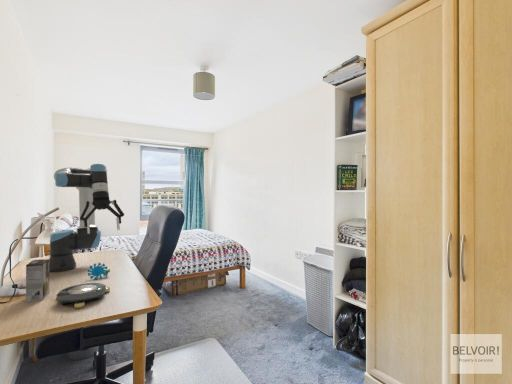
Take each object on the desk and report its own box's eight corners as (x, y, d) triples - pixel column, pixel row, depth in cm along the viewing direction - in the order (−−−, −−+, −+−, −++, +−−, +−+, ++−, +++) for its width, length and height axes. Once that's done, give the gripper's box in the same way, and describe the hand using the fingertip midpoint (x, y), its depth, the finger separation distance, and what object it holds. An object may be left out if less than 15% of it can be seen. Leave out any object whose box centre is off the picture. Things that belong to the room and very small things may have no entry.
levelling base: (74, 289, 130) (74, 280, 130) (115, 290, 129) (116, 281, 129) (37, 307, 109) (37, 296, 109) (85, 309, 108) (86, 298, 108)
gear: (84, 278, 143) (89, 261, 150) (85, 283, 146) (90, 267, 153) (108, 278, 147) (111, 262, 154) (107, 283, 150) (111, 268, 157)
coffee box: (32, 294, 123) (33, 259, 123) (49, 292, 126) (50, 258, 126) (24, 302, 115) (25, 264, 115) (43, 300, 117) (43, 263, 117)
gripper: (72, 191, 132) (75, 233, 128) (127, 189, 147) (131, 227, 143) (71, 195, 138) (74, 236, 134) (124, 193, 153) (128, 229, 149)
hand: (104, 231), depth 138 cm, fingers open, 13 cm apart
